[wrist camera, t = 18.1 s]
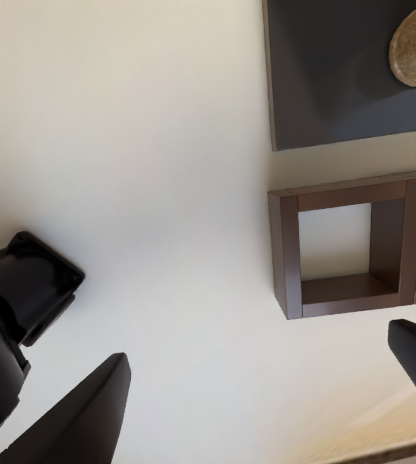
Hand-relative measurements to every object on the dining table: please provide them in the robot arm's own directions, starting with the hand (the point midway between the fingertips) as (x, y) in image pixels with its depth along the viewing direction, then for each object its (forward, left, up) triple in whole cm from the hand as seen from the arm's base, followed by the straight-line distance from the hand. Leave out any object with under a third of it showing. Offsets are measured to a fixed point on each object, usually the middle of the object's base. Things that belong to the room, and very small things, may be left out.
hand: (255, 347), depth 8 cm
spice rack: (+9, +9, -13) cm, 18 cm away
